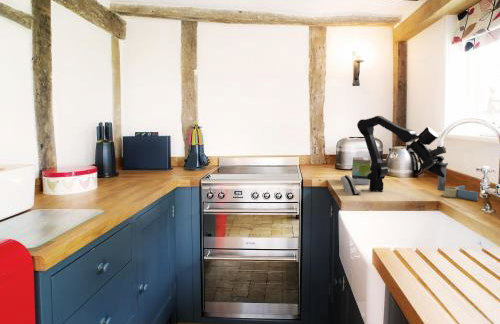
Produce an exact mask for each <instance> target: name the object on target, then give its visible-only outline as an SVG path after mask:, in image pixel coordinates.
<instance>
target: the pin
mask: <svg viewBox="0 0 500 324" xmlns="http://www.w3.org/2000/svg"><path fill="white" fill-rule="evenodd" d="M438 165H439V168H440V169H441V171H442V172H443V174H444V175H445V177H444V178H443V177H440V176H438V175H437V188H436V190H437V191H440V192H442V191H445V187H446V180H447V179H446V178H447V176H446V174H447V169H448V168H447V166H449V163H448V162H445V161H443V162H438Z"/></svg>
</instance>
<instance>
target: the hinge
mask: <svg viewBox="0 0 500 324" xmlns="http://www.w3.org/2000/svg"><path fill="white" fill-rule="evenodd" d="M340 181H341V184H342V187H343V189H344V191H345V192H346V193H348V194H349V196H353V195H354V194H355V195H356V194H357V195H358V196H361V193H360V191H359V190H357V187H356V184H354V182H353V180H352V176H350V175H349V174H346V175H342V176H341V177H340Z"/></svg>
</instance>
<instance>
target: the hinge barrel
mask: <svg viewBox="0 0 500 324" xmlns="http://www.w3.org/2000/svg"><path fill="white" fill-rule="evenodd" d="M442 195H443V196H442ZM441 196H442V197H445V196H446V197H445V198H454V199H455V198H459V199H464V200H471V201H475V202H477V201H479V192H478V191H474V190H473V191H471V190H466V185H464V184H463V185H458V186H445V191H441Z"/></svg>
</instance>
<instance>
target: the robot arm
mask: <svg viewBox="0 0 500 324" xmlns="http://www.w3.org/2000/svg"><path fill="white" fill-rule="evenodd" d="M356 126H357V128H358V131H359V133H360V134H361V135H362V136H363V137H364V140H365V144H366V147H367V151H368V153H369V158H370V173H369V174H368V175H367V178H368V179H369V185H368V186H369V187H368V190H369V192H383V191H384V182H383V180H384V179H385V178H386V176H387V174H388V173H389V167H388V164H387V161H383V160H382V158H381V155H380V151H379V150H378V146H377V142H376V139H375V136H374V131H375V128H374V127H376V126H381V127H382V128H384V129H385V130H388V131H389V132H391V133H393V134H394V135H396V137H397V138H398V139H399V140H400V141H402V142H403V143H408V144H406V145H405V146H406V148H405V150H406V151H410V150H412V151H413V153H414V154H415V155H416V156H417V159H418V160H419V159H420V161H421V162H422V163H420V165H419V168H420V169H421V171H425V170H426V171H427V172H429V173H432V174H434V175H437V177H438V176H440V177H443V178H444V177H445V175H444V174H443V172H442V171H441V169H440V168H439V165H438V162H444V160H445V157H444V156H443V155H442V154H447V150H446V149H447V148H446V147H445V146H442V147H438V146H437V147H436V148H434V149H431V148H428V147H427V145H428V146H429V145H432V143H433V142H435V141H436V140H437V139H438V138H440V137H439V134H438V132H437V131H435V130H434V129H433V128H431V127H429V126H427V127H425V128H424V130H423V131H421V132H420V133H417V132H416V131H415V130H412V129H409V128H406V127H402V126H400V125H397V124H396V123H394V122H393V121H391V120H389V119H387V118H386V117H384V116H383V115H375V116H373V117H370V118H365V119H363V118H362V119H360V120H358V122H357V124H356ZM447 176H448V174H447V173H446V177H447Z"/></svg>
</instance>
